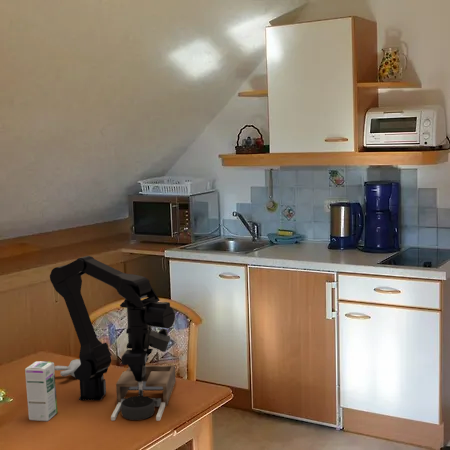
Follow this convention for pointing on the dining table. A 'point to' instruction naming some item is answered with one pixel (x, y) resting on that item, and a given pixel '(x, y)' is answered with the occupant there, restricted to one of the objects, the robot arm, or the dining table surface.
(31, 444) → the dining table surface
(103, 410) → the dining table surface
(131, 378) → the tunnel
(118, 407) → the rails
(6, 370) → the dining table surface
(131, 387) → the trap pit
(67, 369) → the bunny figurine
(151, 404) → the smart speaker
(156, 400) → the slider
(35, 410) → the syrup box
